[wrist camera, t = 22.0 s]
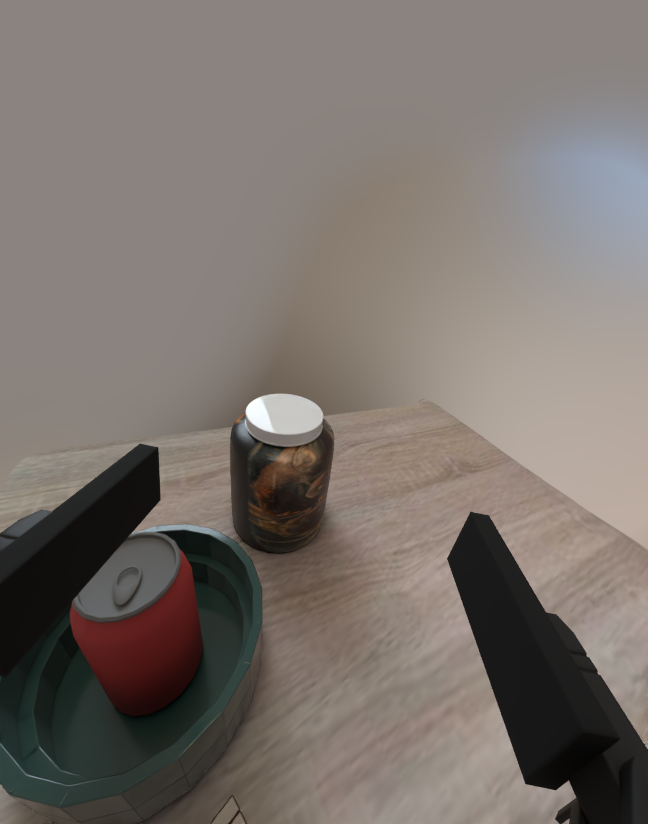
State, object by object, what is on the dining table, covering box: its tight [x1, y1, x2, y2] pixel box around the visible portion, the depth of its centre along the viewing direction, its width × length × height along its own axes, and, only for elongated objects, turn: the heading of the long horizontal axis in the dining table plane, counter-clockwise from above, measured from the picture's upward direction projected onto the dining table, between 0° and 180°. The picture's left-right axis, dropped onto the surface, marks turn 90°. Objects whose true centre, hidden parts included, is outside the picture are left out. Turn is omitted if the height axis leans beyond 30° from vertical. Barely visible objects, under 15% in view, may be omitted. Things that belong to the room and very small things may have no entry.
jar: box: [230, 394, 334, 553], centre depth 35 cm, size 12×12×15 cm
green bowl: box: [0, 524, 262, 824], centre depth 22 cm, size 16×16×7 cm
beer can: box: [70, 532, 203, 716], centre depth 21 cm, size 7×7×12 cm
